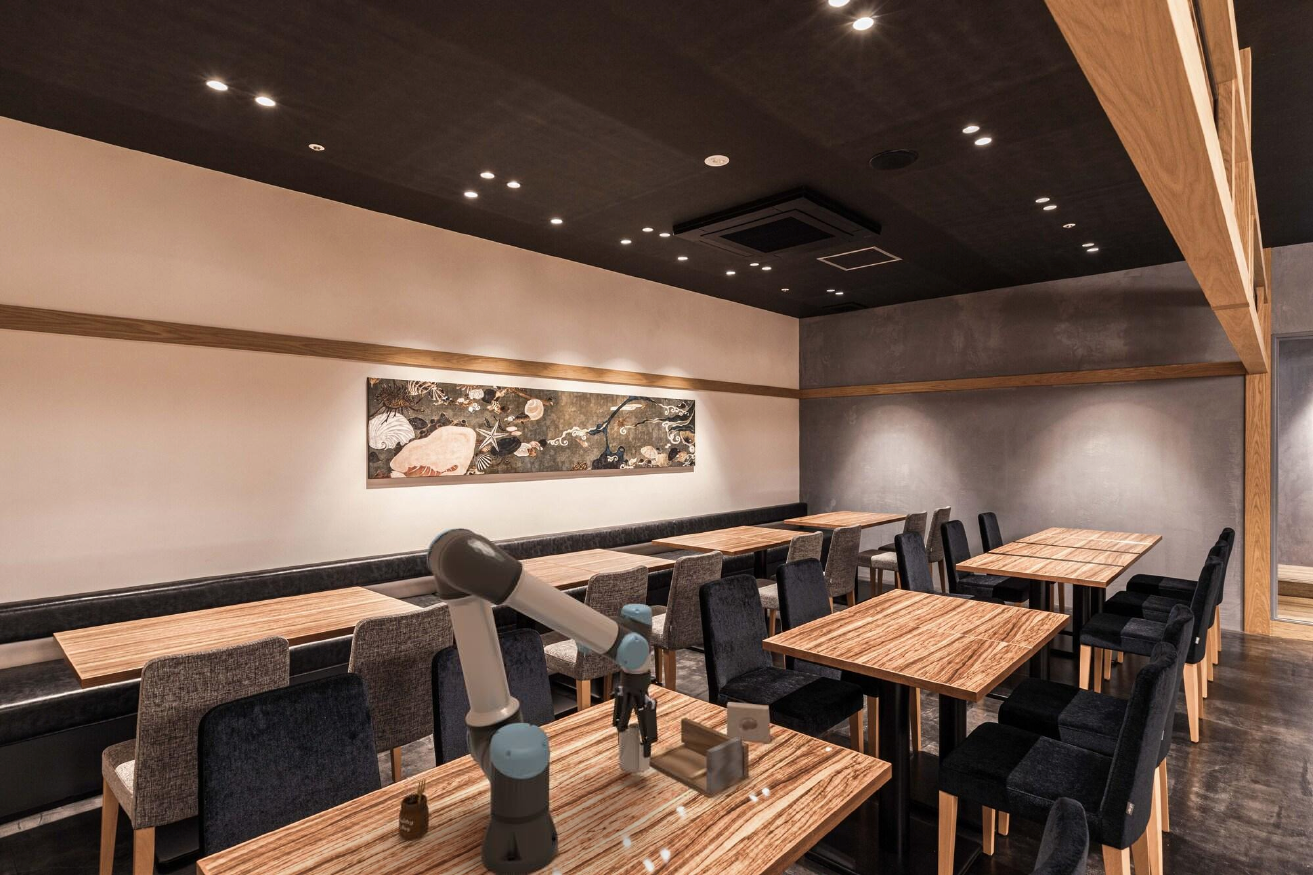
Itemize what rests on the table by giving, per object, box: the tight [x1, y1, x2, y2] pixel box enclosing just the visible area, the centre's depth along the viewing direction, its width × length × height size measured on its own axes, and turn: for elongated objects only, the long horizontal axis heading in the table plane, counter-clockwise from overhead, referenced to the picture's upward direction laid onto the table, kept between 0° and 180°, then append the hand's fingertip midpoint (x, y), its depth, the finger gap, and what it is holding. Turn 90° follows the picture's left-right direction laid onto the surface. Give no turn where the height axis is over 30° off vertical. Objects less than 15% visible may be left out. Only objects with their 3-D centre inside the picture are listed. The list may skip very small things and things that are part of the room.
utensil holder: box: [398, 776, 430, 841], centre depth 138 cm, size 6×6×12 cm
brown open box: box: [649, 717, 750, 799], centre depth 164 cm, size 14×22×10 cm, turn 42°
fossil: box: [726, 701, 772, 744], centre depth 183 cm, size 12×4×10 cm, turn 78°
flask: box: [618, 722, 645, 774], centre depth 160 cm, size 7×7×10 cm
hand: (633, 763), depth 160 cm, fingers closed on flask, 7 cm apart
